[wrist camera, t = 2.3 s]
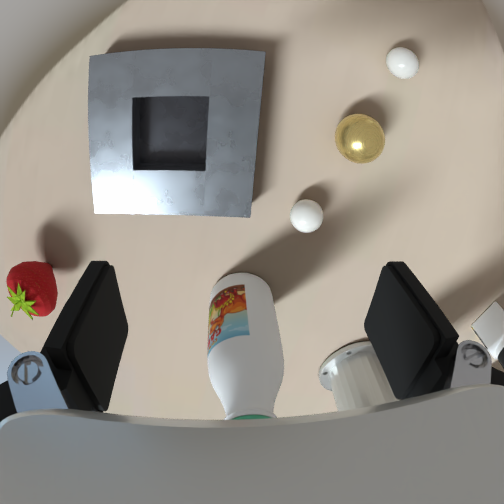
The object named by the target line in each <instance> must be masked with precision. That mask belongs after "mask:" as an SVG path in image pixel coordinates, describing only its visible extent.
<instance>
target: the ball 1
mask: <svg viewBox="0 0 504 504" xmlns="http://www.w3.org/2000/svg"><path fill="white" fill-rule="evenodd" d="M290 220H291V223H292V225H293V226H294V227H295V228H296V229H297V230H299V231H301V232H304V233H309V232H313V231H315V230H317V229H318V228H319V227H320V225H321V224H322V221H323V211H322V209H321V207H320V206H319V204H318V203H316V202H315V201H313V200H309V199H304V200H300V201H298V202H297V203H296V204H295V205H294V206H293V207H292V209H291V212H290Z"/></svg>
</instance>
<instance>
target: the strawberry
mask: <svg viewBox="0 0 504 504" xmlns="http://www.w3.org/2000/svg"><path fill="white" fill-rule="evenodd" d="M7 287H8V291H9V294H10V296H11V297H7V298H8V299H9V300H10V301H11V302H12V303H13V304H15V305H14V306H13V308H12V309H11V311H19V310H20V308H21V309H22V310H23V311H24V312H25V313H26V314H27V315H28V316H29V317H30V318H31V319H32V320H33V318H32V316H31V315H34V316H47V315H49V314H50V313H51V312H52V311H53V310H54V309H55V306H56V301H57V295H58V292H57V286H56V280H55V277H54V274H53V269H52V267H51V265H50V264H48V263H45V262H44V263H43V262H37V261H31V262H22V263H20V264H18V265H16V266H14V267H13V268H12V269H11V270H10V272H9V274H8V276H7ZM30 314H31V315H30ZM12 315H13V312H12ZM12 315H11V317H12Z"/></svg>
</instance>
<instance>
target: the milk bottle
mask: <svg viewBox="0 0 504 504" xmlns="http://www.w3.org/2000/svg"><path fill="white" fill-rule="evenodd" d="M208 371H209V377H210V380H211V383H212V386H213V388H214V389H215V391H216V393H217V395H218V396H219V398H220V400H221V402H222V404H223V407H224V409H225V413H226V417H225V419H224V420H243V419H266V418H277V417H276V415H275V414H274V413H273V410H274V403H275V399H276V396H277V393H278V391H279V388H280V386H281V383H282V379H283V374H284V358H283V350H282V344H281V338H280V333H279V327H278V322H277V317H276V312H275V307H274V302H273V297H272V293H271V290H270V287H269V286H268V284H267V283H266V282H265V281H264V280H262V279H261V278H260V277H258V276H256V275H254V274H250V273H234V274H230V275H228V276H225V277H224V278H222V279H221V280H220V281H219V282H217V284H216V285H215V286H214V287H213V289H212V291H211V296H210V307H209V325H208Z"/></svg>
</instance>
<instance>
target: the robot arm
mask: <svg viewBox="0 0 504 504" xmlns="http://www.w3.org/2000/svg"><path fill="white" fill-rule="evenodd" d="M364 328H365V331H366V333H367V336H368V338H369V340H370V341H365V342H358V343H354V344H351V345H348V346H346V347H344V348H342V349H340V350H338V351H337V352H335V353H334V354H332V355H331V356H330V357H329V358H328V359H327V360H326V361H325V362H324V363H323V364H322V366H321V368H320V370H319V380H320V383H321V385H322V386H323V387H324V388H326V389H327V390H330V391H332V392H333V395H334V399H335V402H336V406H337V409H338V411H337V412H330V413H322V414H314V415H304V416H294V417H282V418H266V419H243V420H190V419H168V418H153V417H140V416H128V415H118V414H110V413H103V411H107V410H108V407H109V403H110V398H111V394H112V390H113V386H114V382H115V378H116V374H117V371H118V367H119V363H120V360H121V356H122V352H123V349H124V345H125V342H126V338H127V335H128V323H127V319H126V316H125V312H124V308H123V304H122V300H121V296H120V292H119V287H118V283H117V278H116V274H115V269H114V267H113V266H112V265H109V263H108V262H107V261H91V262H90V264H89V265H88V267H87V269H86V270H85V272H84V274H83V275H82V277H81V279H80V280H79V282H78V284H77V285H76V287H75V289H74V291H73V292H72V294H71V296H70V298H69V299H68V301H67V302H66V304H65V306H64V307H63V309H62V311H61V313H60V315H59V317H58V319H57V320H56V322H55V324H54V326H53V328H52V330H51V332H50V334H49V336H48V338H47V340H46V342H45V344H44V346H43V348H42V350H41V352H40V353H39V352H35V351H28V352H25V353H22V354H20V355H19V356H17V357H16V358H15V359H14V360H13V361H12V362H11V364H10V365H9V367H8V371H7V377H8V381H6V382H4V383H2V384H0V504H504V372H502V371H500V370H497V369H495V368H493V367H491V366H492V361H491V356H490V354H489V352H488V351H487V350H486V348H485V347H483V346H482V345H481V344H479V343H477V342H475V341H471V340H466V341H463V342H461V343H460V344H459V345H458V343H457V342H456V341H457V339H458V337H459V335H458V333H457V332H456V330H455V329H454V328H453V326H452V325H451V323H450V322H449V321H448V319H447V318H446V316H445V315H444V314H443V312H442V311H441V309H440V308H439V307H438V305H437V304H436V303H435V301H434V300H433V299H432V297H431V296H430V295H429V293H428V292H427V291H426V289H425V288H424V287H423V285H422V284H421V283H420V282H419V280H418V279H417V278H416V276H415V275H414V274H413V273H412V271H411V270H410V269H409V268H408V266H407V265H406V264H405V263H404V262H388V263H387V264H386V266H383V268H382V270H381V274H380V277H379V280H378V283H377V286H376V289H375V293H374V296H373V299H372V302H371V305H370V307H369V310H368V313H367V316H366V319H365V322H364Z"/></svg>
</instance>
